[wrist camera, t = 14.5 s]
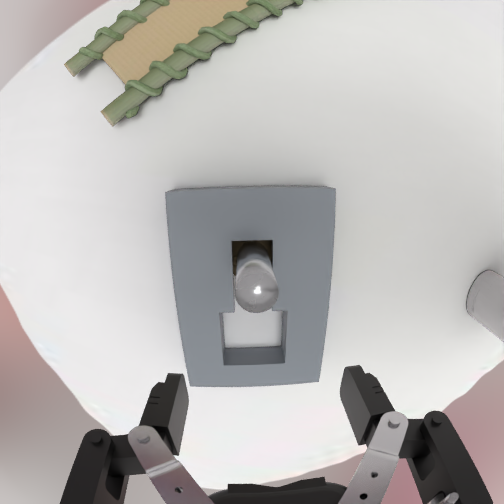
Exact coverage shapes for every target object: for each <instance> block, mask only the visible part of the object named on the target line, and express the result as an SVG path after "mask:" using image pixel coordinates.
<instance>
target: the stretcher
mask: <svg viewBox="0 0 504 504" xmlns="http://www.w3.org/2000/svg"><path fill="white" fill-rule="evenodd" d="M294 2H295V3H296V4H297V5H301V4H302V3H303V1H302V0H141V1H140V5H139V6H137V7H136V8H135V9H133V10H132V11H130V10H123V11H122V12H121V13H120V14H119V15H118V16H117V21H116V22H115V23H114V24H113V25H112V26H110V27H109V28H108V27H103V28H100V29H98V30H97V32H96V34H95V40H94V41H92V42H91V43H90V44H89V45H88V46H86V47H82V48H80V49H79V52H78V53H77V54H76V55H75V56H73V57H72V58H71V59H70V60H68V61H67V62H66V63H65V64H64V65H65V67H66V68H67V69H68V71H69V72H70V73H71V74H72V76H73V77H74V76H75V75H76V74H78V73H79V72H80V71H81V70H82V69H84V68H85V67H86V66H87V65H89V64H90V63H91V62H92V61H94V60H95V59H97V60H101V59H103V60H104V61H105V62H106V63H107V64H108V65H109V66H110V67H111V69H112V70H113V71H114V72H115V73H116V74H117V75H118V77H119V78H120V79H121V80H122V81H123V82H124V83H125V92H124V93H123V94H121V95H120V96H119V97H118V98H116V99H115V100H114V101H113V102H111V103H110V104H109V105H108V106H107V107H105V108H104V109H103V110H102V111H101V113H102V114H103V115H104V117H105V118H106V119H107V120H108V122H109V123H110V124H111V125H112V126H114V125H115V124H116V123H117V122H119V121H120V120H121V119H122V118H123V117H125V116H126V117H127V118H131V117H133V116H135V115H136V114H137V112H138V110H139V106H138V105H139V104H141V103H142V102H143V101H144V100H145V99H147V98H148V97H149V96H153V97H155V96H158V95H160V94H161V92H162V89H163V87H162V86H163V85H164V84H165V83H166V82H168V81H169V80H170V79H172V78H175V79H181V78H184V77H185V76H186V74H187V72H188V69H187V67H188V66H189V65H191V64H192V63H194V62H195V61H196V60H198V59H202V60H205V59H209V58H210V56H211V54H212V52H211V50H213V49H214V48H216V47H217V46H219V45H220V44H222V43H223V42H226V43H234V42H235V41H236V38H237V37H236V34H238V33H240V32H241V31H243V30H245V29H246V28H248V27H251V28H258V27H259V21H260V20H262V19H264V18H266V17H267V16H269V15H271V14H274V15H276V16H281V15H282V10H281V9H282V8H284V7H286V6H288V5H290V4H292V3H294Z"/></svg>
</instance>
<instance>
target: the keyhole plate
mask: <svg viewBox="0 0 504 504" xmlns="http://www.w3.org/2000/svg"><path fill="white" fill-rule="evenodd" d="M165 195H166V211H167V224H168V236H169V247H170V257H171V267H172V276H173V284H174V292H175V300H176V307H177V314H178V321H179V327H180V333H181V340H182V346H183V351H184V357H185V363H186V368H187V373H188V378H189V383H190V386H196V387H252V386H274V385H288V384H300V383H311V382H319V377H320V371H321V364H322V357H323V350H324V343H325V335H326V326H327V318H328V308H329V298H330V288H331V276H332V263H333V247H334V228H335V199H336V189H335V188H331V187H326V186H237V187H210V188H190V189H174V190H171V191H168V192H165ZM248 240H272V268H273V272H274V275H275V279H276V282H277V285H278V289H279V296H278V299H277V301H276V303H275V304H274V306H273V307H272V311H283V320H282V346H278V347H255V348H225V342H224V329H223V316H222V313H224V312H235V303H234V282H233V258H232V241H248Z"/></svg>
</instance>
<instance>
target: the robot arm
mask: <svg viewBox="0 0 504 504" xmlns="http://www.w3.org/2000/svg"><path fill="white" fill-rule="evenodd" d="M467 311H468V313H469V314H470V315H471V316H472V317H473V318H474V319H476V320H477V321H478V322H479V323H481V324H482V325H483V326H484V327H486V328H487V329H488V330H489V331H490V332H492V333H493V334H494V335H495V336H497V337H498V338H499V339H500V340H501V341H503V342H504V277H503V276H501V275H499V274H497V273H495V272H494V271H491V270H487V271H484V272H483V273H481V274H480V275H479V276H478V277H477V279H476V280H475V281H474V283H473V285H472V287H471V289H470V291H469V294H468V298H467ZM340 397H341V401H342V403H343V406H344V408H345V411H346V414H347V416H348V419H349V421H350V424H351V427H352V429H353V432H354V435H355V437H356V440H357V443H358V445H363V444H366V445H367V450H366V452H365V454H364V456H363V458H362V460H361V462H360V464H359V466H358V468H357V470H356V472H355V474H354V476H353V478H352V480H351V481H350V483H349V485H348V487H345V486H343V485H339V484H336V483H330V482H325V478H324V477H320V478H313V479H307V480H300V481H297V482H294V483H291V484H288V485H284V486H281V487H269V486H262V485H256V484H228V489H227V490H222V491H219V492H216V493H214V494H212V495H210V496H207V495H206V493H205V492H204V491H203V490H202V489H201V488H200V486H199V485H198V484H197V483H196V482H195V480H194V479H193V478H192V477H191V475H190V474H189V473H188V472H187V470H186V469H185V468H184V466H183V465H182V464H181V463H180V462H179V461H177V460H176V459H175V457H174V456H173V455H177V456H179V452H180V446H181V441H182V436H183V431H184V425H185V420H186V415H187V410H188V404H189V398H188V392H187V387H186V383H185V378H184V375H183V374H175V373H168V375H167V377H166V380H165V383H161V382H158V383H157V384H156V385H155V386H154V387H153V388H152V390H151V393H150V395H149V398H148V401H147V404H146V407H145V409H144V412H143V415H142V418H141V421H140V424H139V426H137V427H135V428H133V429H132V430H131V431H130V432H129V434H126V435H118V436H110V435H109V433H107V432H106V431H105V430H101V429H94V430H91V431H89V432H87V433H86V434H85V436H84V438H83V440H82V443H81V445H80V448H79V451H78V453H77V456H76V459H75V461H74V464H73V466H72V469H71V472H70V475H69V478H68V480H67V483H66V486H65V489H64V492H63V495H62V499H61V502H60V504H124V499H125V494H126V489H127V484H128V479H129V475H136V474H147V475H148V477H149V478H150V480H151V481H152V483H153V484H154V486H155V488H156V489H157V491H158V492H159V494H160V495H161V497H162V498H163V500H164V501H165V503H166V504H380V503H381V501H382V499H383V497H384V495H385V492H386V490H387V488H388V485H389V483H390V480H391V478H392V476H393V473H394V471H395V468H396V466H397V463H398V460H399V458H406V459H407V462H408V464H409V467H410V469H411V472H412V475H413V478H414V480H415V483H416V485H417V488H418V491H419V494H420V497H421V499H422V502H423V504H493V501H492V499H491V497H490V494H489V492H488V490H487V489H486V486H485V484H484V482H483V481H482V478H481V476H480V474H479V472H478V470H477V468H476V467H475V465H474V463H473V461H472V459H471V457H470V455H469V453H468V451H467V450H466V448H465V446H464V444H463V443H462V441H461V439H460V437H459V435H458V434H457V432H456V430H455V429H454V427H453V425H452V423H451V422H450V420H449V419H448V417H447V416H446V415H445V414H444V413H442V412H440V411H431V412H429V413H427V414H426V415H425V417H424V419H407V417H406V416H405V415H404V414H402V413H400V412H396V411H395V410H394V408H393V406H392V404H391V403H390V401H389V399H388V397H387V395H386V394H385V392H384V390H383V388H382V387H381V385H380V383H379V381H378V380H377V378H376V377H374V376H373V375H372V374H370V373H367V374H365V373H364V371H363V369H362V367H361V366H360V365H356V366H349V367H345V369H344V373H343V378H342V382H341V387H340Z"/></svg>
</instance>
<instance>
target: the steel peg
mask: <svg viewBox="0 0 504 504" xmlns="http://www.w3.org/2000/svg"><path fill="white" fill-rule="evenodd" d="M232 258H233V274H234V275H235V276H236V288H235V297H236V300H237V302H238V304H239V305H240V306H241V307H242V308H243V309H245V310H246V311H249V312H253V313H260V312H264V311H267V310H269V309H270V308H271V307H273V306H274V304H275V303H276V301H277V299H278V296H279V289H278V285H277V282H276V279H275V275H274V272H273V268H272V240H248V241H232Z"/></svg>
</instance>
